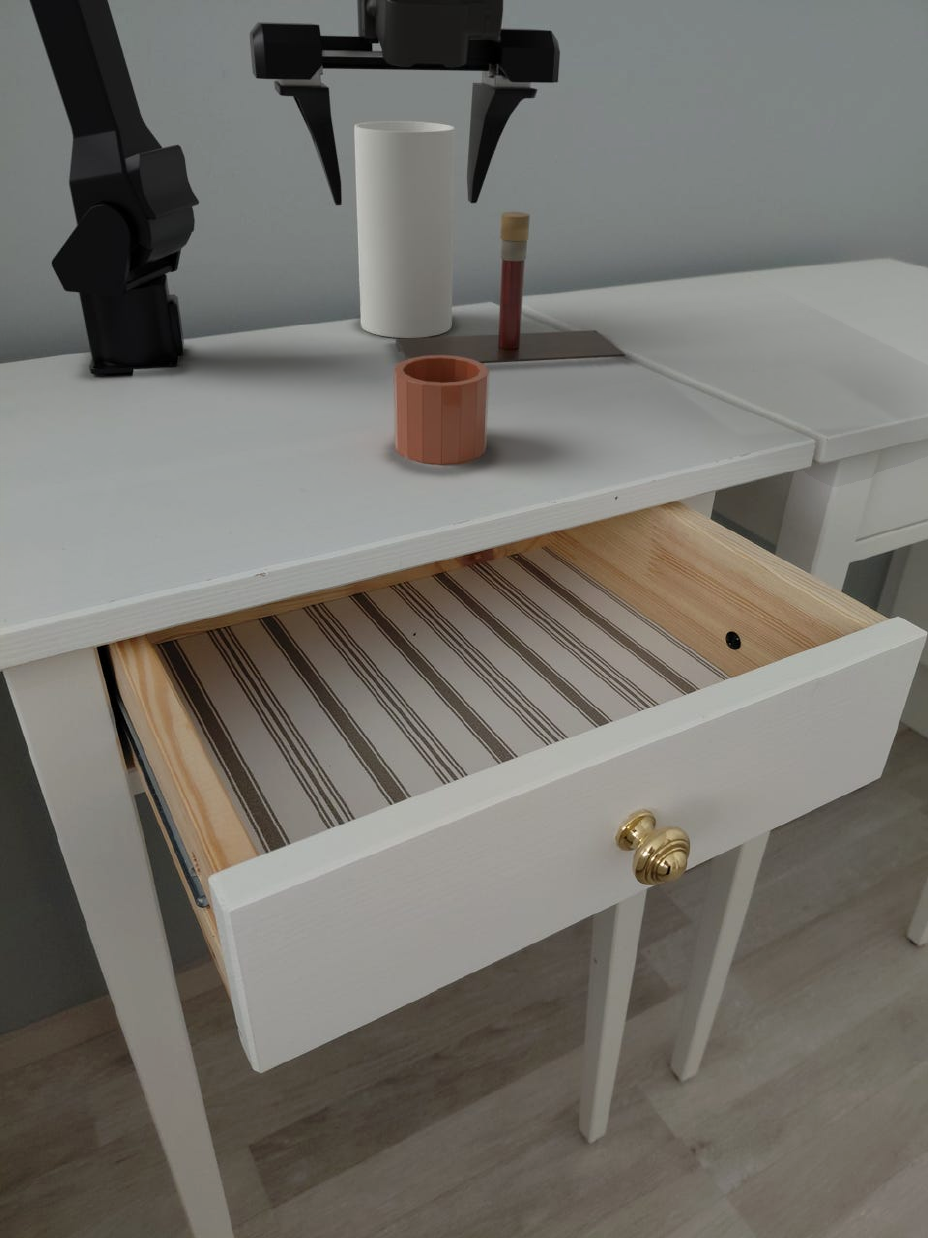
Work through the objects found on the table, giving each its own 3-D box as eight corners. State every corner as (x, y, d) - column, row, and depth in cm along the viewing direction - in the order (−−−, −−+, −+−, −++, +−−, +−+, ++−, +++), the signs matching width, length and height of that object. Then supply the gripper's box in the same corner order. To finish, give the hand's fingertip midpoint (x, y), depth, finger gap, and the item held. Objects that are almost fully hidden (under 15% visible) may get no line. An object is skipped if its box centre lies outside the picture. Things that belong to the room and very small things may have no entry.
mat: (410, 372, 73) (410, 364, 73) (395, 345, 79) (395, 338, 79) (624, 361, 77) (625, 354, 77) (595, 336, 83) (596, 329, 82)
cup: (440, 341, 80) (442, 133, 71) (349, 333, 81) (340, 128, 73) (459, 316, 87) (464, 123, 78) (375, 309, 88) (370, 118, 79)
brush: (499, 351, 76) (505, 216, 71) (492, 343, 78) (498, 211, 73) (525, 349, 77) (533, 216, 71) (517, 341, 79) (525, 211, 73)
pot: (404, 474, 57) (403, 387, 54) (389, 438, 62) (387, 356, 59) (495, 467, 58) (499, 382, 55) (473, 433, 63) (476, 352, 60)
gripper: (245, -109, 46) (273, 229, 54) (602, -90, 49) (576, 223, 58) (238, -90, 55) (263, 197, 63) (540, -76, 58) (525, 193, 67)
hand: (406, 203), depth 63 cm, fingers open, 9 cm apart
